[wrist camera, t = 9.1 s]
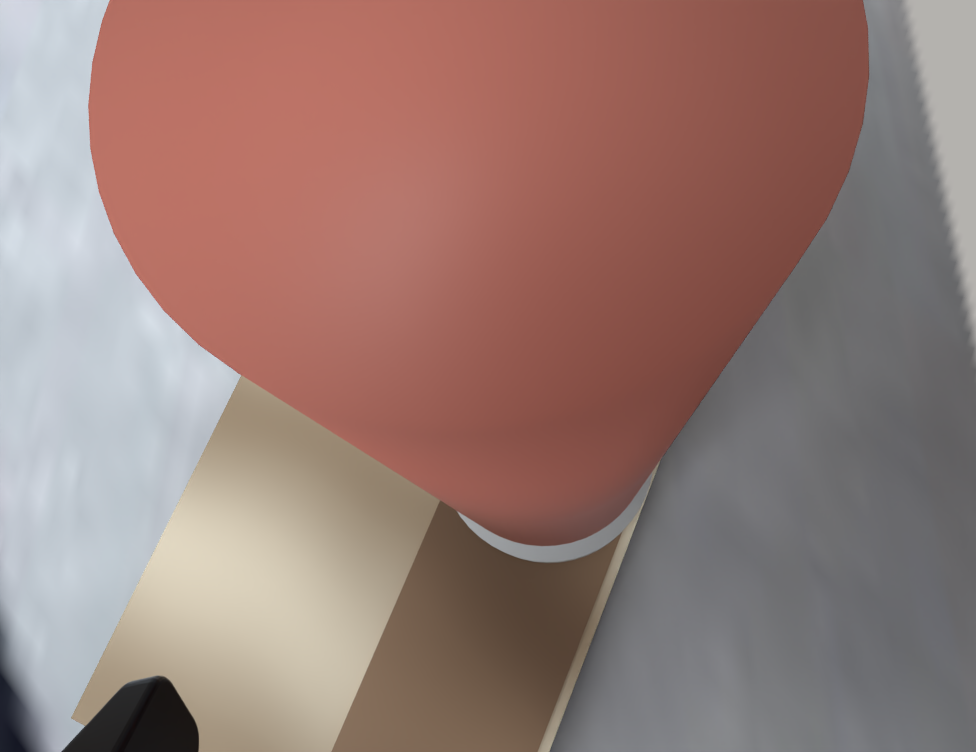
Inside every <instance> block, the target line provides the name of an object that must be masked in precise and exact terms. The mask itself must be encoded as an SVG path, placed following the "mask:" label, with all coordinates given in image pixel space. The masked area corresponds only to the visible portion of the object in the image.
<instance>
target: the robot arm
mask: <svg viewBox="0 0 976 752" xmlns="http://www.w3.org/2000/svg"><path fill="white" fill-rule="evenodd" d="M62 752H199V732H198V727H197V724H196V722H195V720H194V718H193V716H192V715H191V713H190V711H189V710H188V708H187V706H186V705H185V703H184V702H183V700H182V698H181V697H180V695H179V693H178V692H177V690H176V689H175V687H174V685H173V684H172V682H171V681H170V680H169V679H168V678H166V677H165V676H159V675H157V676H152V677H148V678H143V679H139V680H134V681H131V682H128V683H126V684H125V685H123V686H122V687H121V688H120V689H119V690H118V691H117V692H116V693H115V695H114V696H113V697H112V698H111V699H110V700H109V701H108V702H107V703H106V704H105V705H104V706H103V708H102V709H101V710H100V711H99V712H98V713H97V714H96V715H95V716H94V717H93V718H92V719H91V721H90V722H89V723H88V724H87V725H86V726H85V727H84V728H83V729H82V730H81V731H80V732H79V734H78V735H77V736H76V737H75V738H74V739H73V740H72V741H71V742H70V743H69V744H68V745H67V747H66V748H65V749H64V750H63V751H62Z"/></svg>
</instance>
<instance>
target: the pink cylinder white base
mask: <svg viewBox="0 0 976 752" xmlns="http://www.w3.org/2000/svg"><path fill="white" fill-rule="evenodd" d="M868 80H869V52H868V26H867V21H866V15H865V10H864V4H863V0H110V1H109V4H108V7H107V9H106V12H105V15H104V17H103V20H102V24H101V28H100V32H99V36H98V41H97V45H96V49H95V54H94V58H93V62H92V72H91V83H90V94H89V104H88V108H89V128H90V149H91V154H92V159H93V164H94V169H95V174H96V179H97V184H98V189H99V193H100V196H101V199H102V201H103V204H104V207H105V210H106V213H107V215H108V218H109V221H110V224H111V226H112V229H113V232H114V234H115V236H116V238H117V240H118V242H119V244H120V245H121V247H122V249H123V251H124V253H125V255H126V256H127V258H128V260H129V262H130V264H131V266H132V268H133V269H134V271H135V273H136V275H137V276H138V277H139V279H140V280H141V281H142V282H143V284H144V285H145V286H146V288H147V289H148V290H149V292H150V293H151V294H152V296H153V297H154V298H155V300H156V301H157V302H158V304H159V305H160V306H161V307H162V309H163V310H164V311H165V312H166V313H167V314H168V315H169V316H170V317H171V318H172V319H173V320H174V321H175V322H176V323H177V324H178V325H179V326H180V327H181V328H182V329H183V330H184V331H185V332H186V333H187V334H188V335H189V336H190V337H191V338H192V339H193V340H195V341H196V342H197V343H198V344H199V345H200V346H201V347H203V348H204V349H205V350H207V351H208V352H210V353H211V354H212V355H214V356H215V357H217V358H218V359H219V360H221V361H222V362H224V363H225V364H226V365H228V366H229V367H231V368H232V369H233V370H235V371H236V372H237V373H239V374H240V375H242V376H244V377H245V378H247V379H248V380H250V381H251V382H253V383H255V384H256V385H258V386H259V387H261V388H263V389H264V390H266V391H267V392H269V393H271V394H272V395H274V396H275V397H277V398H278V399H280V400H282V401H283V402H285V403H286V404H288V405H290V406H291V407H293V408H294V409H296V410H298V411H299V412H301V413H302V414H304V415H305V416H307V417H309V418H310V419H312V420H313V421H315V422H317V423H318V424H320V425H321V426H323V427H325V428H326V429H328V430H329V431H331V432H332V433H334V434H336V435H337V436H339V437H340V438H342V439H344V440H345V441H347V442H348V443H350V444H352V445H353V446H355V447H356V448H358V449H359V450H361V451H363V452H364V453H366V454H367V455H369V456H371V457H372V458H374V459H375V460H377V461H379V462H380V463H382V464H383V465H385V466H386V467H388V468H390V469H391V470H393V471H394V472H396V473H398V474H399V475H401V476H402V477H404V478H406V479H407V480H409V481H410V482H412V483H413V484H415V485H417V486H418V487H420V488H421V489H423V490H425V491H426V492H428V493H429V494H431V495H432V496H434V497H436V498H437V499H439V500H440V501H442V502H444V503H445V504H447V505H448V506H450V507H452V508H453V509H455V510H456V511H457V512H458V514H459V515H460V517H461V518H462V519H463V520H464V522H465V523H466V524H467V525H468V527H469V528H470V529H471V530H472V531H474V532H475V533H476V534H477V535H478V536H479V537H480V538H481V539H483V540H484V541H486V542H487V543H488V544H490V545H491V546H493V547H495V548H497V549H499V550H501V551H503V552H505V553H507V554H509V555H512V556H514V557H517V558H520V559H523V560H528V561H532V562H541V563H560V562H566V561H572V560H576V559H579V558H582V557H585V556H588V555H590V554H592V553H594V552H596V551H598V550H600V549H601V548H603V547H604V546H606V545H607V544H609V543H610V542H611V541H612V540H613V539H615V538H616V537H617V536H618V535H619V534H620V533H621V532H622V531H623V530H624V529H625V528H626V526H627V525H628V524H629V523H630V522H631V521H632V520H633V518H634V517H635V515H636V514H637V512H638V510H639V509H640V507H641V505H642V503H643V501H644V499H645V497H646V495H647V492H648V489H649V486H650V482H651V478H652V472H653V470H654V468H655V467H656V466H657V464H658V463H659V461H660V460H661V458H662V457H663V455H664V454H665V453H666V451H667V450H668V448H669V447H670V445H671V444H672V443H673V441H674V440H675V438H676V437H677V435H678V434H679V433H680V431H681V430H682V428H683V427H684V425H685V424H686V422H687V421H688V420H689V418H690V417H691V415H692V414H693V412H694V411H695V410H696V408H697V407H698V405H699V404H700V402H701V401H702V400H703V398H704V397H705V395H706V394H707V392H708V391H709V390H710V388H711V387H712V385H713V384H714V382H715V381H716V379H717V378H718V377H719V375H720V374H721V372H722V371H723V369H724V368H725V367H726V365H727V364H728V362H729V361H730V359H731V358H732V357H733V355H734V354H735V352H736V351H737V349H738V348H739V346H740V345H741V344H742V342H743V341H744V339H745V338H746V336H747V335H748V334H749V332H750V331H751V329H752V328H753V326H754V325H755V324H756V322H757V321H758V319H759V318H760V316H761V315H762V313H763V312H764V311H765V309H766V308H767V306H768V305H769V303H770V302H771V301H772V299H773V298H774V296H775V295H776V293H777V292H778V291H779V289H780V288H781V286H782V285H783V283H784V282H785V280H786V279H787V278H788V276H789V275H790V273H791V272H792V270H793V269H794V268H795V266H796V265H797V263H798V262H799V260H800V259H801V257H802V256H803V254H804V253H805V251H806V250H807V248H808V247H809V245H810V243H811V242H812V240H813V239H814V237H815V236H816V234H817V233H818V231H819V230H820V228H821V227H822V225H823V224H824V222H825V221H826V219H827V217H828V215H829V213H830V211H831V209H832V206H833V204H834V202H835V200H836V198H837V196H838V194H839V191H840V189H841V187H842V185H843V183H844V181H845V178H846V176H847V174H848V172H849V169H850V165H851V162H852V159H853V155H854V152H855V148H856V145H857V142H858V138H859V135H860V131H861V128H862V124H863V118H864V110H865V103H866V95H867V87H868Z"/></svg>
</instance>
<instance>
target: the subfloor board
mask: <svg viewBox="0 0 976 752" xmlns="http://www.w3.org/2000/svg"><path fill="white" fill-rule="evenodd" d="M660 461H661V460H660ZM660 461H659V463H660ZM659 463H658V464H657V466H656V467H655V468H654V470H653V472H652V478H651V482H650V486H649V489H648V492H649V490H650V487H651V484H652V482H653V479H654V476H655V474H656V471H657V469H658V466H659ZM648 492H647V495H648ZM647 495H646V497H647ZM646 497H645V499H644V501H643V503H642V505H641V507H640V509H639V510H638V512H637V514H636V515H635V517H634V518H633V520H632V521H631V522H630V523H629V524H628V525H627V526H626V528H625V529H624V530H623V531H622V532H621V533H620V534H619V535H618V536H617V537H616V538H615V539H613V540H612V541H611V542H610V543H609V544H607V545H606V546H604V547H603V548H601V549H600V550H598V551H596V552H594V553H592V554H590V555H588V556H585V557H582V558H579V559H576V560H572V561H566V562H560V563H541V562H532V561H528V560H523V559H520V558H517V557H514V556H512V555H509V554H507V553H505V552H503V551H501V550H499V549H497V548H495V547H493V546H491V545H490V544H488V543H487V542H486V541H484V540H483V539H481V538H480V537H479V536H478V535H477V534H476V533H475V532H474V531H472V530H471V529H470V528H469V527H468V525H467V524H466V523H465V522H464V520H463V519H462V518H461V517H460V515H459V514H458V512H457V511H456V510H455V509H453V508H452V507H450V506H448V505H447V504H445V503H444V502H442V501H440V500H439V499H437V498H436V497H434V496H432V495H431V494H429V493H428V492H426V491H425V490H423V489H421V488H420V487H418V486H417V485H415V484H413V483H412V482H410V481H409V480H407V479H406V478H404V477H402V476H401V475H399V474H398V473H396V472H394V471H393V470H391V469H390V468H388V467H386V466H385V465H383V464H382V463H380V462H379V461H377V460H375V459H374V458H372V457H371V456H369V455H367V454H366V453H364V452H363V451H361V450H359V449H358V448H356V447H355V446H353V445H352V444H350V443H348V442H347V441H345V440H344V439H342V438H340V437H339V436H337V435H336V434H334V433H332V432H331V431H329V430H328V429H326V428H325V427H323V426H321V425H320V424H318V423H317V422H315V421H313V420H312V419H310V418H309V417H307V416H305V415H304V414H302V413H301V412H299V411H298V410H296V409H294V408H293V407H291V406H290V405H288V404H286V403H285V402H283V401H282V400H280V399H278V398H277V397H275V396H274V395H272V394H271V393H269V392H267V391H266V390H264V389H263V388H261V387H259V386H258V385H256V384H255V383H253V382H251V381H250V380H248V379H247V378H245V377H244V376H242V375H241V377H240V379H239V381H238V383H237V385H236V387H235V389H234V391H233V393H232V395H231V397H230V399H229V401H228V403H227V405H226V407H225V409H224V411H223V413H222V415H221V417H220V420H219V422H218V424H217V426H216V428H215V430H214V432H213V434H212V436H211V438H210V440H209V442H208V444H207V446H206V448H205V450H204V452H203V454H202V456H201V458H200V460H199V462H198V464H197V466H196V468H195V470H194V472H193V474H192V476H191V478H190V480H189V482H188V484H187V486H186V488H185V490H184V492H183V494H182V496H181V498H180V500H179V502H178V504H177V506H176V508H175V510H174V512H173V514H172V516H171V518H170V520H169V522H168V524H167V526H166V528H165V530H164V532H163V534H162V536H161V538H160V540H159V542H158V544H157V546H156V548H155V550H154V552H153V554H152V556H151V558H150V560H149V562H148V564H147V566H146V568H145V570H144V572H143V574H142V576H141V578H140V580H139V582H138V584H137V587H136V589H135V591H134V593H133V595H132V597H131V599H130V601H129V603H128V605H127V607H126V609H125V611H124V613H123V615H122V617H121V619H120V621H119V623H118V625H117V627H116V629H115V631H114V633H113V635H112V637H111V639H110V641H109V643H108V645H107V647H106V649H105V651H104V653H103V655H102V657H101V659H100V661H99V663H98V665H97V667H96V669H95V671H94V673H93V675H92V677H91V679H90V681H89V683H88V685H87V687H86V689H85V691H84V693H83V695H82V697H81V699H80V701H79V703H78V705H77V707H76V709H75V711H74V713H73V715H72V717H71V718H72V719H73V720H75V721H77V722H79V723H81V724H83V725H85V726H86V725H87V724H88V723H89V722H90V721H91V719H92V718H93V717H94V716H95V715H96V714H97V713H98V712H99V711H100V710H101V709H102V708H103V706H104V705H105V704H106V703H107V702H108V701H109V700H110V699H111V698H112V697H113V696H114V695H115V693H116V692H117V691H118V690H119V689H120V688H121V687H122V686H123V685H125V684H126V683H128V682H131V681H134V680H139V679H143V678H148V677H152V676H157V675H159V676H165V677H166V678H168V679H169V680H170V681H171V682H172V684H173V685H174V687H175V689H176V690H177V692H178V693H179V695H180V697H181V698H182V700H183V702H184V703H185V705H186V706H187V708H188V710H189V711H190V713H191V715H192V716H193V718H194V720H195V722H196V724H197V727H198V732H199V752H549V751H550V749H551V746H552V743H553V741H554V738H555V735H556V733H557V730H558V728H559V725H560V722H561V720H562V717H563V715H564V712H565V709H566V707H567V704H568V701H569V699H570V696H571V694H572V691H573V688H574V686H575V683H576V681H577V678H578V675H579V673H580V670H581V667H582V665H583V662H584V660H585V657H586V654H587V652H588V649H589V646H590V644H591V641H592V639H593V636H594V633H595V631H596V628H597V626H598V623H599V620H600V618H601V615H602V612H603V610H604V607H605V605H606V602H607V599H608V597H609V594H610V592H611V589H612V586H613V584H614V581H615V578H616V576H617V573H618V571H619V568H620V565H621V563H622V560H623V558H624V555H625V552H626V550H627V547H628V544H629V542H630V539H631V537H632V534H633V531H634V529H635V526H636V524H637V521H638V518H639V516H640V513H641V510H642V508H643V505H644V503H645V500H646Z"/></svg>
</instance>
